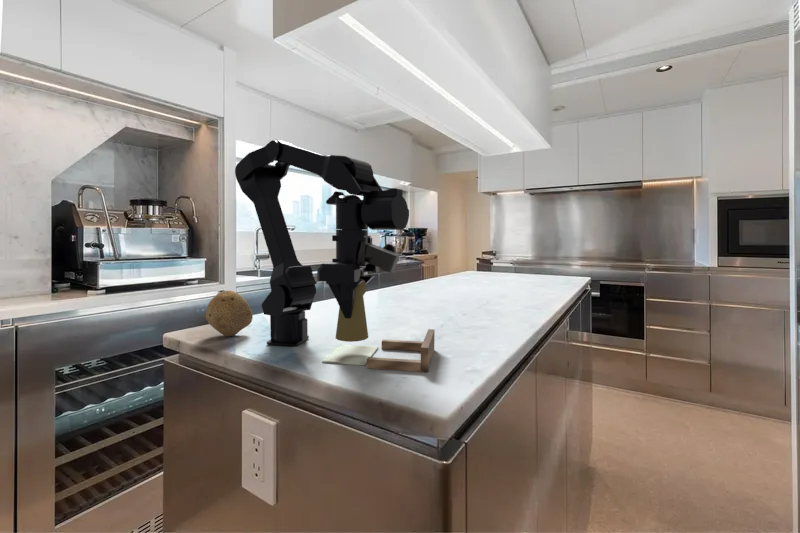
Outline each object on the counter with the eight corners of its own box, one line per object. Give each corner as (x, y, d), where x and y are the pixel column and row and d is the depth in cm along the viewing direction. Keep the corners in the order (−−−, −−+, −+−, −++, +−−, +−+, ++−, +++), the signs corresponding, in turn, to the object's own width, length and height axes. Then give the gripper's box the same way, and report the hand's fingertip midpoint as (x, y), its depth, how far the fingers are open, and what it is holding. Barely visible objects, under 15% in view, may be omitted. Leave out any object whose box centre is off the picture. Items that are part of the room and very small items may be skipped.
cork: (352, 343, 66) (352, 280, 65) (328, 337, 69) (328, 277, 68) (375, 336, 70) (375, 277, 70) (351, 331, 74) (351, 275, 73)
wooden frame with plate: (319, 364, 65) (319, 341, 64) (342, 344, 77) (342, 325, 76) (427, 372, 61) (428, 347, 61) (434, 349, 74) (434, 329, 73)
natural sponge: (196, 337, 82) (194, 291, 81) (233, 328, 89) (232, 286, 88) (222, 343, 77) (221, 294, 76) (259, 334, 85) (258, 289, 84)
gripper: (384, 229, 58) (384, 330, 59) (404, 231, 76) (403, 308, 77) (315, 228, 60) (316, 326, 61) (351, 230, 78) (351, 305, 79)
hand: (351, 315), depth 69 cm, fingers closed on cork, 4 cm apart
